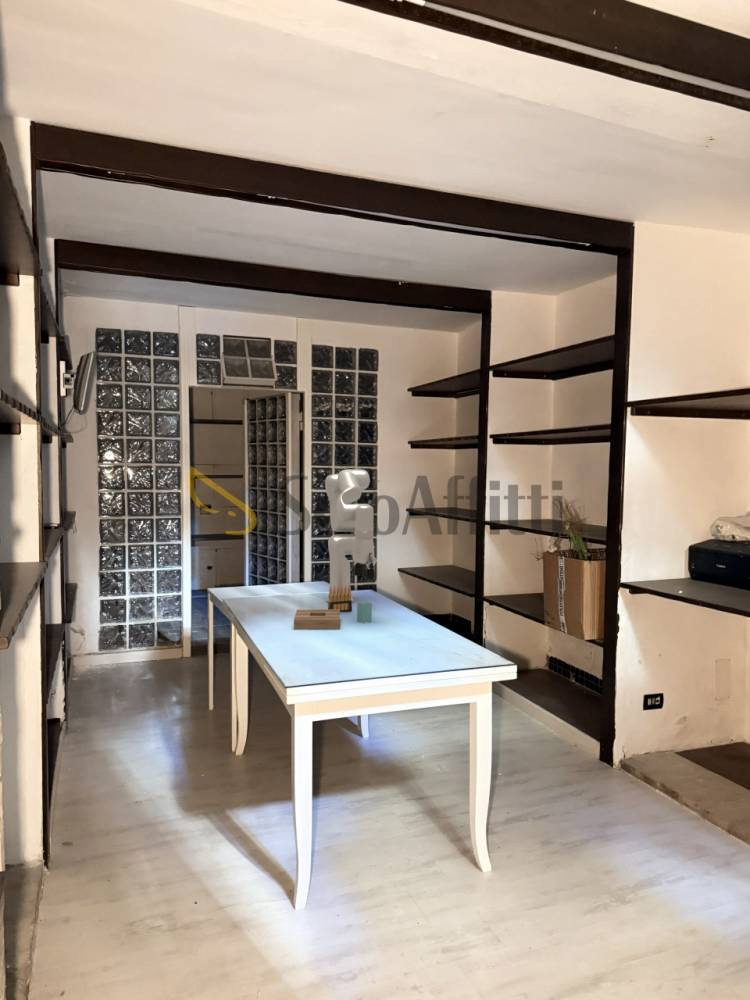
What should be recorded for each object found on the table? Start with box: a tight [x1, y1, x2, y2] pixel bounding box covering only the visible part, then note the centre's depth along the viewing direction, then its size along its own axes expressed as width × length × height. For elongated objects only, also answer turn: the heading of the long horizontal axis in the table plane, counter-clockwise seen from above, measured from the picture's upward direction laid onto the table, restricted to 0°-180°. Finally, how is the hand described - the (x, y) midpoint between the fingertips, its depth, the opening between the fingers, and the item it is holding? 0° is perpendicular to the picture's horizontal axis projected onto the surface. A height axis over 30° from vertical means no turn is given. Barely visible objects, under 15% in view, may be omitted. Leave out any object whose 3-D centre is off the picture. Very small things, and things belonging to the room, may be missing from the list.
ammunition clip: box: [327, 584, 353, 613], centre depth 295 cm, size 11×2×12 cm, turn 115°
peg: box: [356, 600, 373, 624], centre depth 278 cm, size 4×4×8 cm
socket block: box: [293, 608, 341, 630], centre depth 273 cm, size 18×18×4 cm
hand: (363, 576), depth 277 cm, fingers open, 9 cm apart
